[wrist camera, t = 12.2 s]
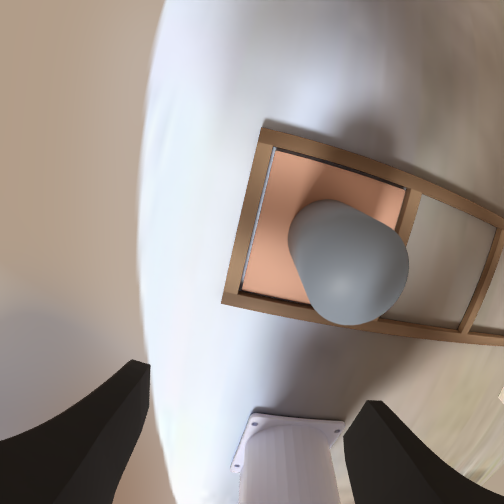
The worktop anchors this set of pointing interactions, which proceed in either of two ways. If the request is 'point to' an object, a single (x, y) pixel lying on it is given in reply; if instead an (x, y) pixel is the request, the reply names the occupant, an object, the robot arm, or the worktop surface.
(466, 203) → the board
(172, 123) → the worktop surface
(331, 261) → the grey rounded cylinder
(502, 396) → the die
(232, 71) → the worktop surface
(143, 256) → the worktop surface
